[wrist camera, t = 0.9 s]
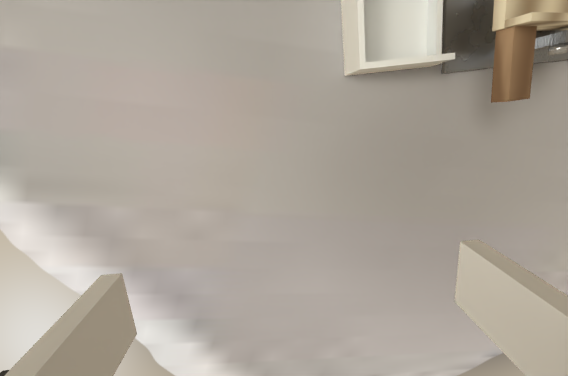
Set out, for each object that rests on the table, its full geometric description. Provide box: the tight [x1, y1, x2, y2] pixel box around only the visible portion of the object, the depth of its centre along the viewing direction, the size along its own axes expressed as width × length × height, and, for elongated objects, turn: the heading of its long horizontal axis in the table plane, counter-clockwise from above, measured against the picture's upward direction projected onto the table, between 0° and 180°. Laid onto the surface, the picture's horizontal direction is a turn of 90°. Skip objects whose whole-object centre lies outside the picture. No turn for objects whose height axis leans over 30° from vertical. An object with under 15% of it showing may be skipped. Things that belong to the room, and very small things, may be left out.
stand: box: [442, 0, 568, 73], centre depth 30 cm, size 17×11×8 cm, turn 96°
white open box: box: [341, 0, 455, 76], centre depth 31 cm, size 9×10×6 cm
